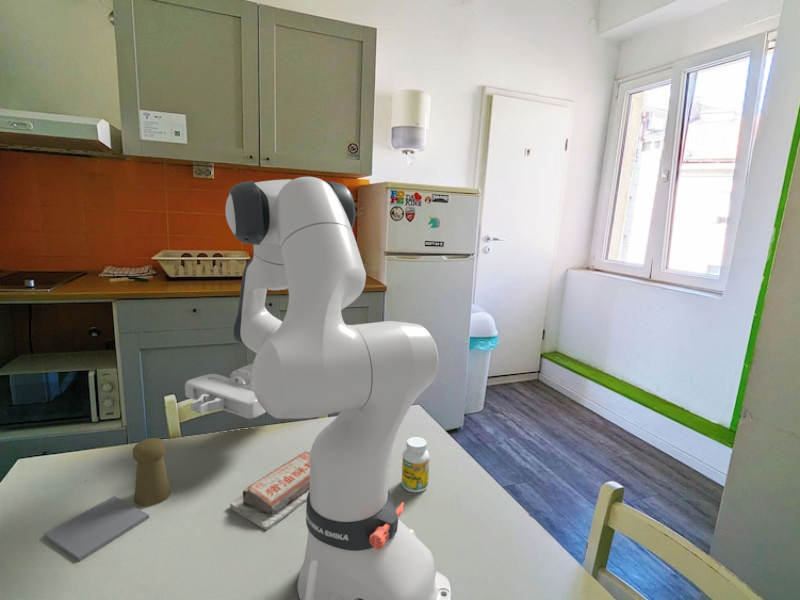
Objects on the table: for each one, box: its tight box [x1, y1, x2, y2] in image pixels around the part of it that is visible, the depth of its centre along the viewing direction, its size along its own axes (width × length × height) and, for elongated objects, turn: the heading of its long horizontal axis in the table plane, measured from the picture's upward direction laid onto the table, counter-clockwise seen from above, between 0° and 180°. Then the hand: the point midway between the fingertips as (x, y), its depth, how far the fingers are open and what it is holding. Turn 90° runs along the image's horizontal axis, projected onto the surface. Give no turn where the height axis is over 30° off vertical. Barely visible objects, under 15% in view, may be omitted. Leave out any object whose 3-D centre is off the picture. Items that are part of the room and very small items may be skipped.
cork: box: [132, 437, 172, 507], centre depth 80 cm, size 6×6×11 cm
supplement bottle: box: [401, 436, 431, 493], centre depth 87 cm, size 5×5×10 cm
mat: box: [43, 495, 150, 562], centre depth 72 cm, size 10×11×1 cm
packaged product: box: [229, 450, 310, 531], centre depth 83 cm, size 18×5×10 cm
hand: (195, 408), depth 87 cm, fingers closed
